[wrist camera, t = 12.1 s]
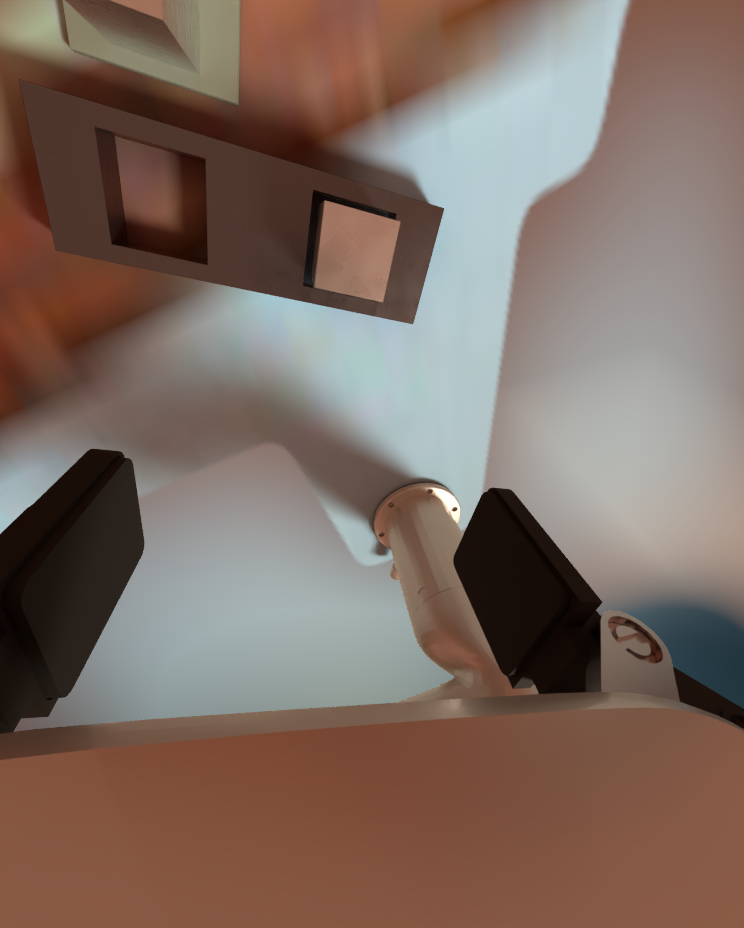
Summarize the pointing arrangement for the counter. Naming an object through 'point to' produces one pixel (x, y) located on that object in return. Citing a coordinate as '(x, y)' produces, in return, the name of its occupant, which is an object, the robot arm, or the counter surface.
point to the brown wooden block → (353, 251)
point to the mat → (215, 65)
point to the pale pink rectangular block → (148, 28)
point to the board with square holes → (213, 206)
